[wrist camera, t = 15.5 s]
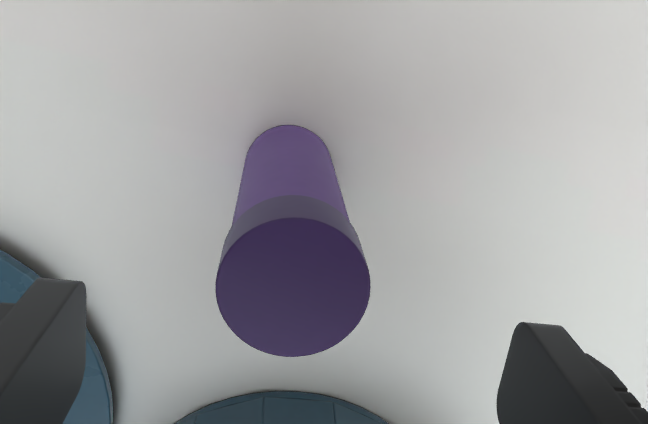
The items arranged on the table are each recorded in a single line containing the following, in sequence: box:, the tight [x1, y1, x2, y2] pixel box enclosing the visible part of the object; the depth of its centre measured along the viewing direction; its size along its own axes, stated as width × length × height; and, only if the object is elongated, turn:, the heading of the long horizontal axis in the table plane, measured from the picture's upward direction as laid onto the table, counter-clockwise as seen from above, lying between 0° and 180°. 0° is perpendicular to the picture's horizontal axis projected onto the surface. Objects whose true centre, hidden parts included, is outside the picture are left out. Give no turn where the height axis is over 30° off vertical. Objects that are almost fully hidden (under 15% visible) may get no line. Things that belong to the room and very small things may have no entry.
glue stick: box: [216, 125, 371, 357], centre depth 18 cm, size 3×3×10 cm
